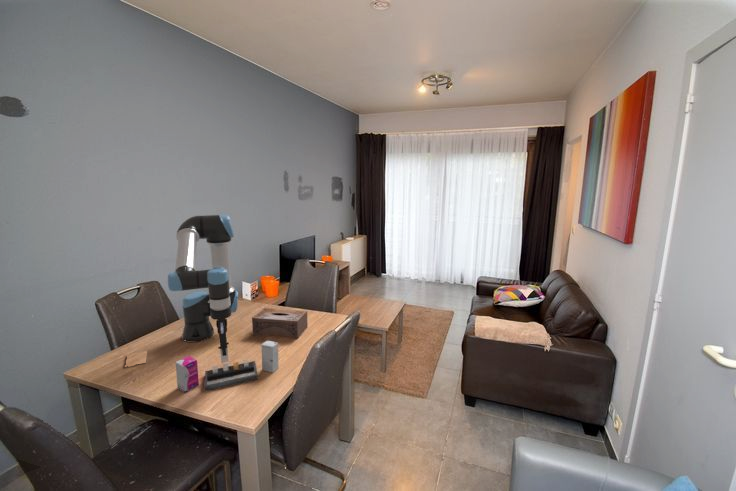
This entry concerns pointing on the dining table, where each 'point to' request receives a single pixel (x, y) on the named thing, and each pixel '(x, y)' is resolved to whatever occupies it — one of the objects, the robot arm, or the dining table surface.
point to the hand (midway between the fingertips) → (224, 361)
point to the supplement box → (187, 373)
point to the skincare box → (270, 356)
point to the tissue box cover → (280, 323)
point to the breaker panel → (230, 375)
